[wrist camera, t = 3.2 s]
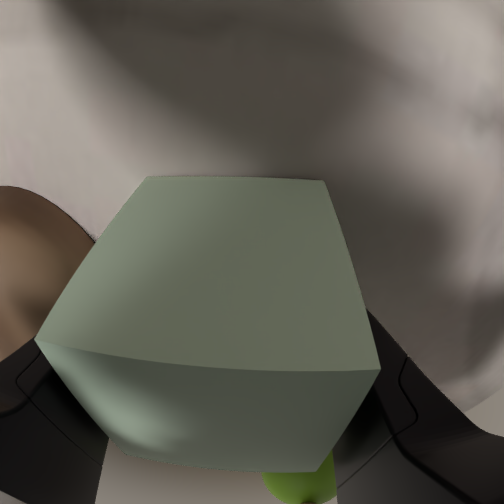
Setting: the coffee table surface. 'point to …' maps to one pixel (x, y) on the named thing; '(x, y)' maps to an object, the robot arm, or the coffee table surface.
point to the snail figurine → (304, 484)
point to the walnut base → (33, 262)
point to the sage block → (218, 325)
